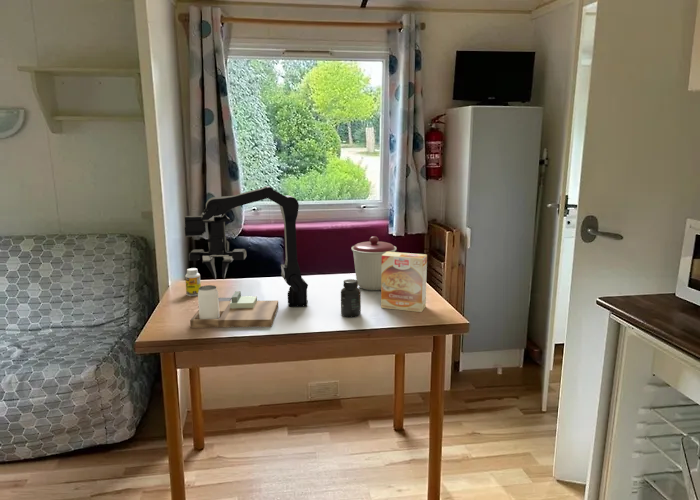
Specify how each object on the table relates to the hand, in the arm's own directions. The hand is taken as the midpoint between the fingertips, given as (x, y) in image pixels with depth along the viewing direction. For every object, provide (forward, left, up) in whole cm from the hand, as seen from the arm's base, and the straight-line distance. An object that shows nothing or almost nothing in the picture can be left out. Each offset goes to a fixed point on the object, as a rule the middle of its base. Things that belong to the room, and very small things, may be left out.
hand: (219, 278), depth 182 cm
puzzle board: (-6, +6, -12) cm, 15 cm away
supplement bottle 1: (+16, -21, -12) cm, 29 cm away
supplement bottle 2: (-45, +5, -12) cm, 47 cm away
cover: (-8, 0, -9) cm, 12 cm away
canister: (-55, -28, -12) cm, 64 cm away
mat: (+5, -10, -12) cm, 17 cm away
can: (+2, +11, -12) cm, 16 cm away
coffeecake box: (-64, -2, -12) cm, 66 cm away
